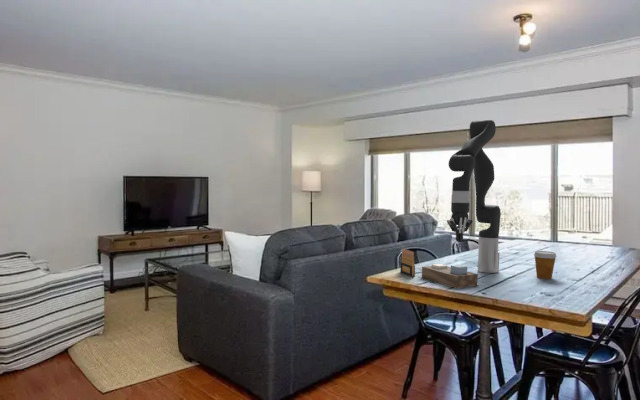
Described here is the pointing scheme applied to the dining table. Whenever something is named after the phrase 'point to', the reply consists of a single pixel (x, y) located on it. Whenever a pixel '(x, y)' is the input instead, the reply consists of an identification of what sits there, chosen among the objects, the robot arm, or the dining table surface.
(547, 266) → the disposable coffee cup
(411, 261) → the wooden panel with frame
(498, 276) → the dining table surface
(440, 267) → the cream key
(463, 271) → the slate key
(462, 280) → the key panel
